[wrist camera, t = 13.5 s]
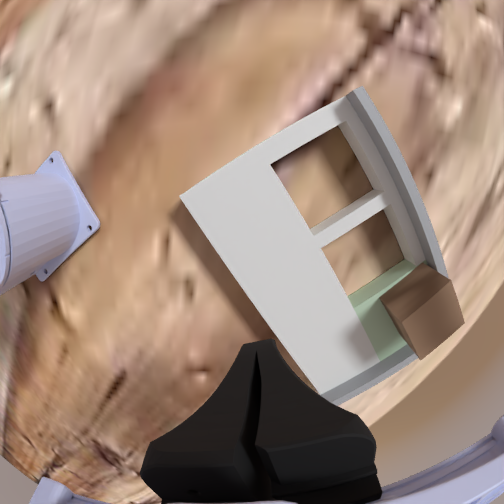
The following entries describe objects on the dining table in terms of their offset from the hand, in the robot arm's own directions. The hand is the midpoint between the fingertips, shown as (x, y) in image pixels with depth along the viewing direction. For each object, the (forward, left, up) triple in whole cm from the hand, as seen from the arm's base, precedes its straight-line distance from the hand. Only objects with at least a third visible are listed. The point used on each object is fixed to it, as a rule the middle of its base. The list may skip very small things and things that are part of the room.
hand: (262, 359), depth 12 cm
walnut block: (+10, -8, -8) cm, 15 cm away
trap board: (+6, -2, -10) cm, 12 cm away
